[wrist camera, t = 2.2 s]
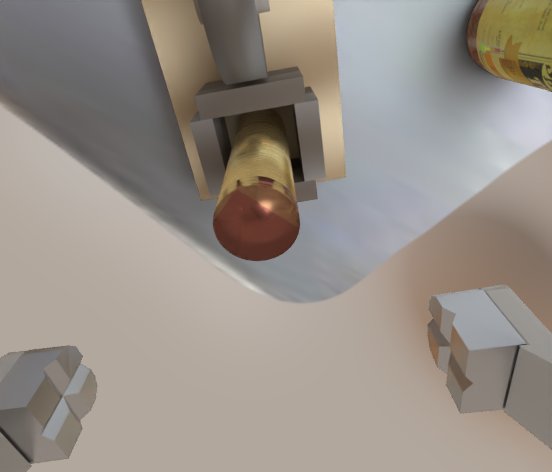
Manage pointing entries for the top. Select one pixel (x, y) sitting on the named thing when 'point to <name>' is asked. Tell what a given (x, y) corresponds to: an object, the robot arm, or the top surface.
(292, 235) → the pin
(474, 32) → the sauce bottle
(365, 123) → the top surface
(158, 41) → the block
